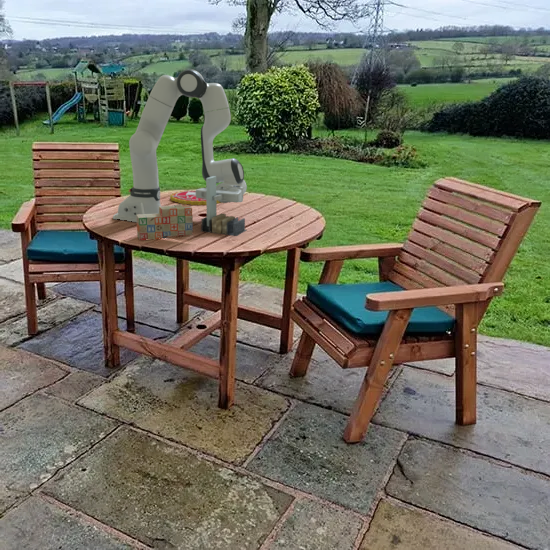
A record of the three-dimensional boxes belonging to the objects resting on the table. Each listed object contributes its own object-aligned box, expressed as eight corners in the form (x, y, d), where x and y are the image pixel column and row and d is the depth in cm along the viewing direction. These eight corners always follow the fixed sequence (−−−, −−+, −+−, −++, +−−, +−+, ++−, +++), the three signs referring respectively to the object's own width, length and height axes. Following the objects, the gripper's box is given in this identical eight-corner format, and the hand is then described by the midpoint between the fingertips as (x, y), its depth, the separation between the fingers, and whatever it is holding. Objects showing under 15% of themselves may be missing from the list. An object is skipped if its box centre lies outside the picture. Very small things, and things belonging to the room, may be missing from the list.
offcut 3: (222, 233, 218) (222, 220, 216) (230, 228, 225) (230, 216, 223) (226, 233, 217) (226, 220, 216) (235, 229, 225) (235, 216, 223)
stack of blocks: (139, 241, 207) (137, 210, 203) (137, 236, 213) (135, 206, 209) (193, 237, 215) (192, 207, 211) (189, 233, 221) (188, 204, 216)
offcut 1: (211, 232, 219) (211, 217, 217) (221, 227, 227) (221, 213, 225) (216, 232, 219) (216, 218, 217) (225, 227, 226) (225, 213, 224)
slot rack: (199, 233, 220) (199, 219, 218) (212, 227, 230) (211, 213, 228) (236, 238, 215) (236, 224, 213) (247, 232, 225) (247, 218, 223)
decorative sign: (221, 189, 301) (231, 200, 274) (221, 193, 302) (231, 205, 275) (167, 190, 294) (172, 201, 267) (167, 194, 294) (173, 206, 267)
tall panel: (206, 226, 221) (206, 178, 214) (213, 222, 226) (212, 176, 220) (210, 226, 221) (209, 178, 214) (216, 223, 226) (216, 176, 219)
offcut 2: (216, 232, 218) (216, 221, 216) (226, 227, 227) (226, 216, 225) (220, 233, 217) (220, 221, 216) (231, 228, 226) (231, 216, 224)
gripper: (203, 183, 233) (188, 188, 221) (246, 187, 227) (232, 193, 214) (204, 197, 235) (188, 203, 223) (246, 202, 229) (232, 208, 217)
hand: (210, 198), depth 219 cm, fingers closed on tall panel, 1 cm apart
